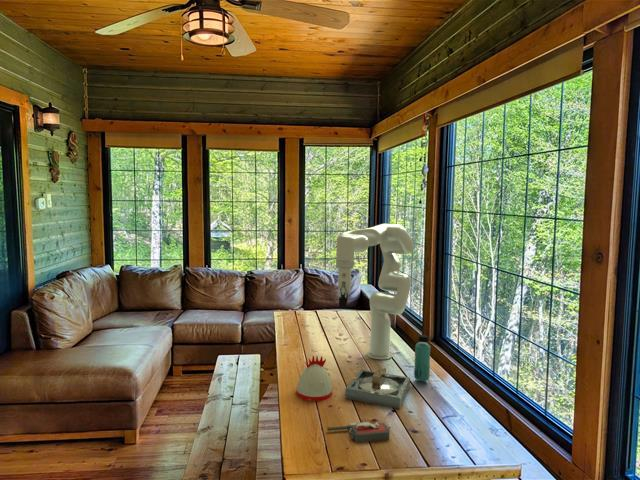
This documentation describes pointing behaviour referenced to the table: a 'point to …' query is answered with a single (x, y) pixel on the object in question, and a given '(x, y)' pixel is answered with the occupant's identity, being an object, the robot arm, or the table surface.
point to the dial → (379, 383)
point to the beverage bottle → (422, 359)
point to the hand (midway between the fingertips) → (343, 304)
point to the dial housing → (374, 397)
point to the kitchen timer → (314, 382)
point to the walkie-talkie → (365, 431)
